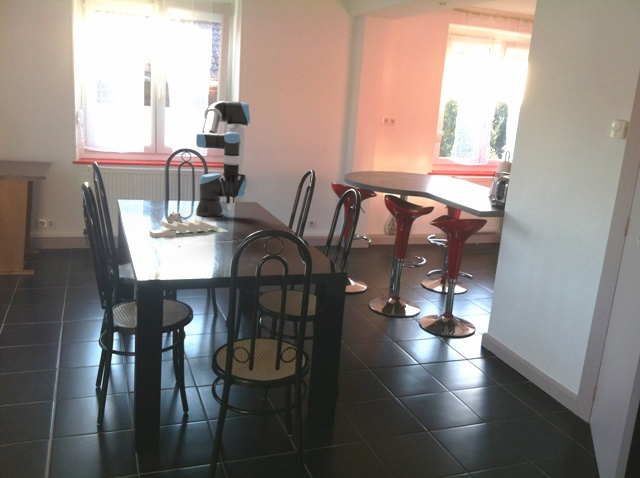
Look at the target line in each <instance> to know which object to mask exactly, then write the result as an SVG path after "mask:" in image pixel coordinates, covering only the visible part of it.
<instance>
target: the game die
mask: <svg viewBox="0 0 640 478" xmlns="http://www.w3.org/2000/svg"><path fill="white" fill-rule="evenodd" d="M164 219H166V220H167V223H169V224H173V222H174V221H176V222H179V223H182V224H184V222H185V221H183V220H182V216H181V212H179V213H175V212H174V211H172V213H169V216H168V217H164Z"/></svg>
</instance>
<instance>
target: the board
mask: <svg viewBox="0 0 640 478" xmlns="http://www.w3.org/2000/svg"><path fill="white" fill-rule="evenodd" d="M218 228H219V229H218V232H217V231H214V230H211V229H208V232H205V231H201V230H197V233H194V232H191V231H188V230H186V233H185V234H184V233H181V232H178V231H176V235H172V236H171V237H182V236H183V237H184V236H195V235H207V234H217V233H228V232H230V231H229V230H227V229H224V228H222V227H218Z"/></svg>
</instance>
